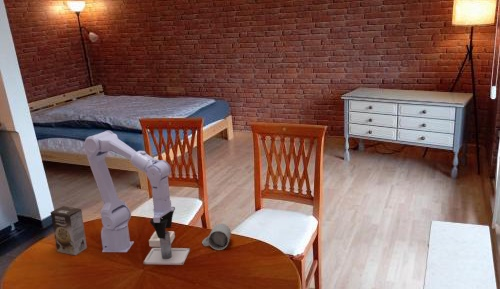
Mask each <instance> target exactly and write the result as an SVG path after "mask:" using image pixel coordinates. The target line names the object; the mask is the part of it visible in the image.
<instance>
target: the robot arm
mask: <svg viewBox="0 0 500 289" xmlns="http://www.w3.org/2000/svg"><path fill="white" fill-rule="evenodd" d="M83 149H84V151H85V153H86V157H87V158H86V159H87V161H88V164H89V166H90V169H91V172H92V174H93V178H94V180H95V183H96V185H97V186H96V187H97V188H98V191H99V195H100V197H101V199H102V203H103V205H102V207H101V209H100V213H99V214H100V215H101V223H102V224H101V225H102V227H101V231H100V238H101V246H102V251H101V252H102V253H127V252H128V251H130V249H131V247H132V246H133V245H134V243H135V241H134V240H133V241H131V238H130V232H129V225H128V224H129V223H130V222H129V221H130V219H131V217H132V212H131V209H130V208H129V206H127V203H126V201H125V200H123V199H120V198H119V195H118V193H117V190H116V187H115V184H114V182H113V179H112V176H111V174H110V170H109V168H108V165H107V162H106V160H105V158H106V157H107V154H108V153H109V152H111V151H112V152H114V153H117V154H119V155H120V156H122V157H124V158H127V159H128V160H130V163H131V166H133V167H134V168H136V169H138V170H140V171H142V173H145V174H146V175H145V176H146V177H147V179H148V181H149V185H150V186H151V195H152V202H153V204H152V205H153V217H152V218H151V219H150V221H149V222H150V225H151V226H152V227H153V229H154V232H155V231H156V233H157V236H158V238H165V231H167V230H166V229H171V227H172V223H173V216H174V213H175V210H176V207H175V206H172V200H171V197H170V196H171V195H170V186H169V175H170V174H171V170H172V169H171V168H172V167H171V165H170V164H169V162H167V161H166V160H164V159H161V160H160V159H157V158H154V157H153V156H151V155H149V154H148V153H147V152H146V151H145V150H138V151H136V150H135V149H134V148H132V147H131V146H129V145H128V144H126V142H124V141H122V140H121V139H120V138H119V137H118V134H116V133H114V132H113V131H111V130H105V131H103V132H100V133H99V132H98V133H96V134H93V135H89V136H87V137H86V138H85V139H84V143H83Z"/></svg>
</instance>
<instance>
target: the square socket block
mask: <svg viewBox="0 0 500 289" xmlns="http://www.w3.org/2000/svg"><path fill="white" fill-rule="evenodd" d="M167 231H168V230H167ZM168 232H170V241H171V244H172V243H173V242H174V240H175V238H176V235H175V234H176V233H175V231H172V230H171V231H168ZM148 245H149V247H150V248H161V246H160V238H158V236H157V233H156V231H155V230H154V232H153V233H152V235H151V236H150V239H148Z"/></svg>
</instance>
